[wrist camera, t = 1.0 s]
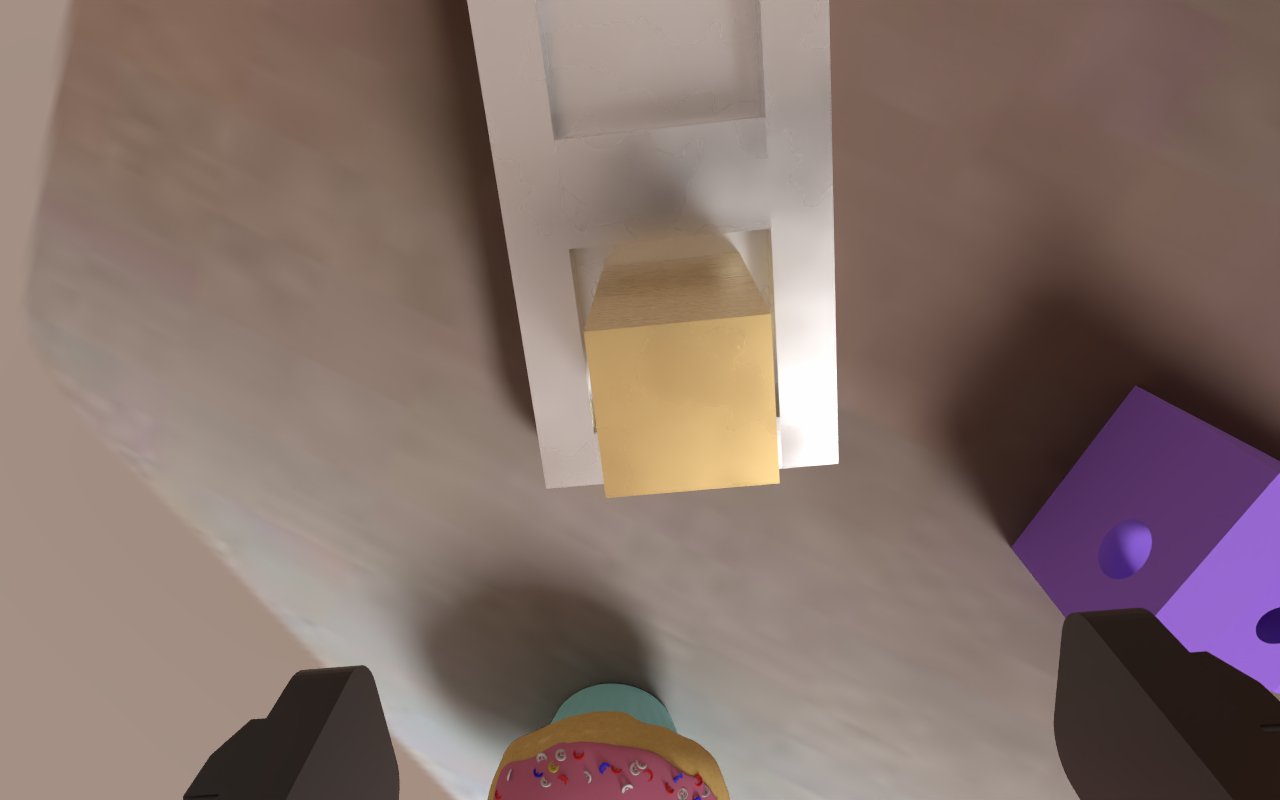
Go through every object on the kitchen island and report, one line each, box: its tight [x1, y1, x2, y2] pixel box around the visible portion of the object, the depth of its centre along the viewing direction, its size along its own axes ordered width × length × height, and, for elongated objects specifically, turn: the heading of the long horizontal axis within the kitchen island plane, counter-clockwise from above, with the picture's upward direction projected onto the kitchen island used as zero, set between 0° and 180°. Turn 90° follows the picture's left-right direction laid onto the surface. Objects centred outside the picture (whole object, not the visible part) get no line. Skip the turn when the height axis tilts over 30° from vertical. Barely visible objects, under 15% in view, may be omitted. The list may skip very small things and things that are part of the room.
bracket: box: [1011, 385, 1280, 693], centre depth 26 cm, size 12×7×7 cm, turn 64°
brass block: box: [584, 252, 779, 498], centre depth 21 cm, size 4×4×7 cm
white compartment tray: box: [467, 0, 838, 489], centre depth 22 cm, size 9×26×3 cm, turn 6°
